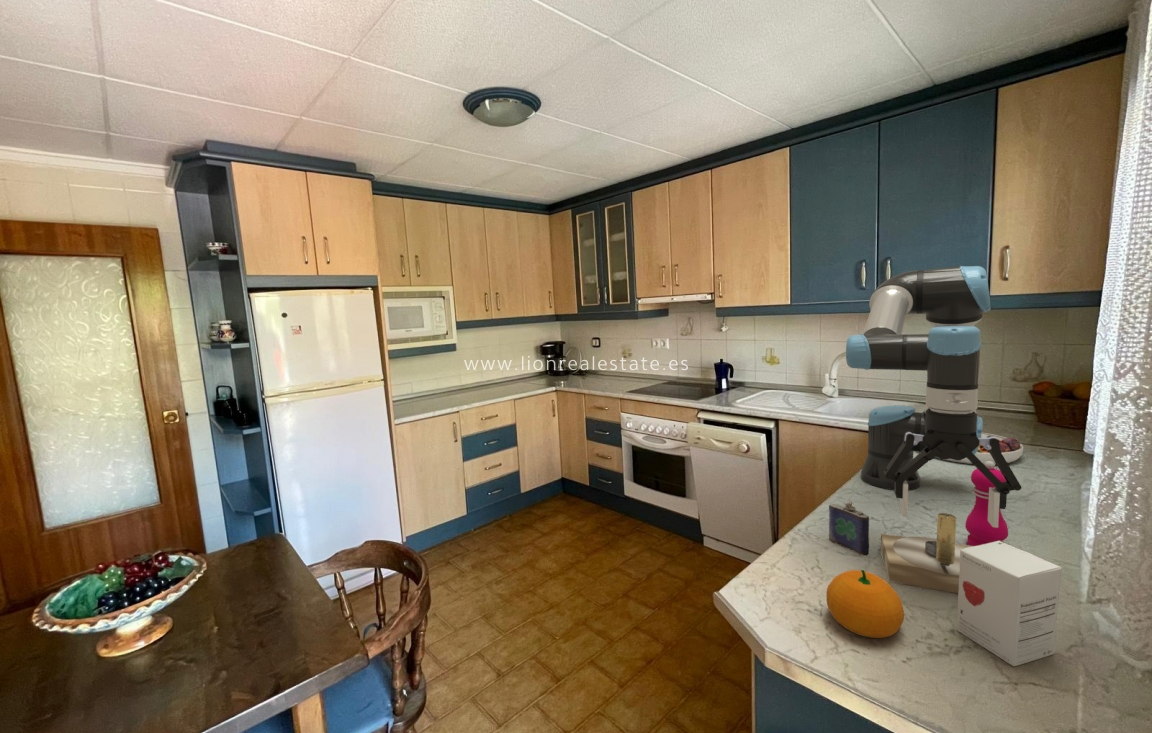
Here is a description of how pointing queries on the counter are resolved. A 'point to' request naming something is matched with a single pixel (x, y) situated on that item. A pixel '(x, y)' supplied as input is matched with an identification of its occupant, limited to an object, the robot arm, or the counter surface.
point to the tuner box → (918, 563)
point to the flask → (849, 528)
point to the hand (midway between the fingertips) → (946, 519)
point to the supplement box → (1008, 601)
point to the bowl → (1008, 448)
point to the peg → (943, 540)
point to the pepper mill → (984, 511)
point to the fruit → (865, 604)
